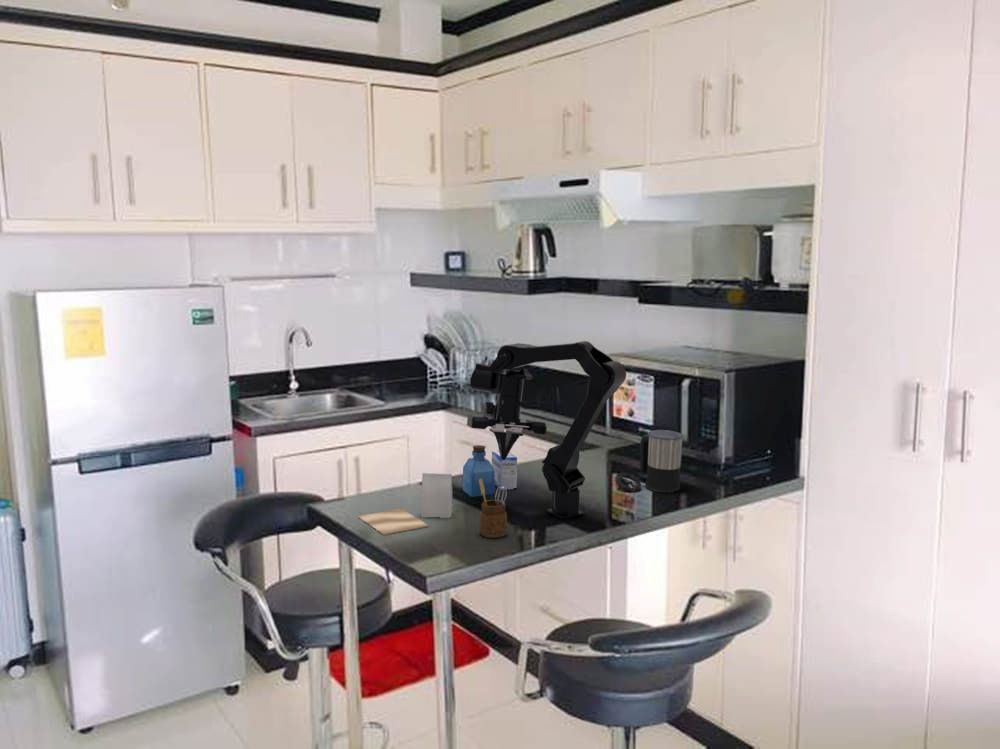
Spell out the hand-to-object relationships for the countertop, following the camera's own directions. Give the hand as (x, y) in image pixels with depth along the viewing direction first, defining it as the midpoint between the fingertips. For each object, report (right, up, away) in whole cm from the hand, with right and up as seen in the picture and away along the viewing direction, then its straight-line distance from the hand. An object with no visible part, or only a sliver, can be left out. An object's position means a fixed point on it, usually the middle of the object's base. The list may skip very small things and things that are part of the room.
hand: (502, 459), depth 198 cm
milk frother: (+38, -10, +18) cm, 43 cm away
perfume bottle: (-6, -10, +12) cm, 17 cm away
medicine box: (0, -9, +18) cm, 20 cm away
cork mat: (-25, -13, -13) cm, 31 cm away
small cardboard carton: (-15, -13, -7) cm, 21 cm away
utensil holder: (-2, -15, -19) cm, 24 cm away
